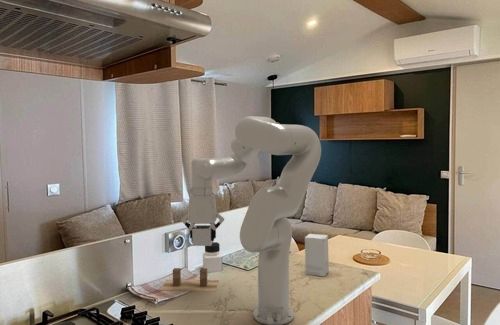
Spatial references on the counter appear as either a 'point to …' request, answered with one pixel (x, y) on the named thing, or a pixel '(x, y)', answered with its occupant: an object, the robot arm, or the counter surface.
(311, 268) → the skincare box
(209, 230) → the grey open box
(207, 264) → the medicine bottle
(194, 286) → the peg board
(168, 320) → the counter surface
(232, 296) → the counter surface
